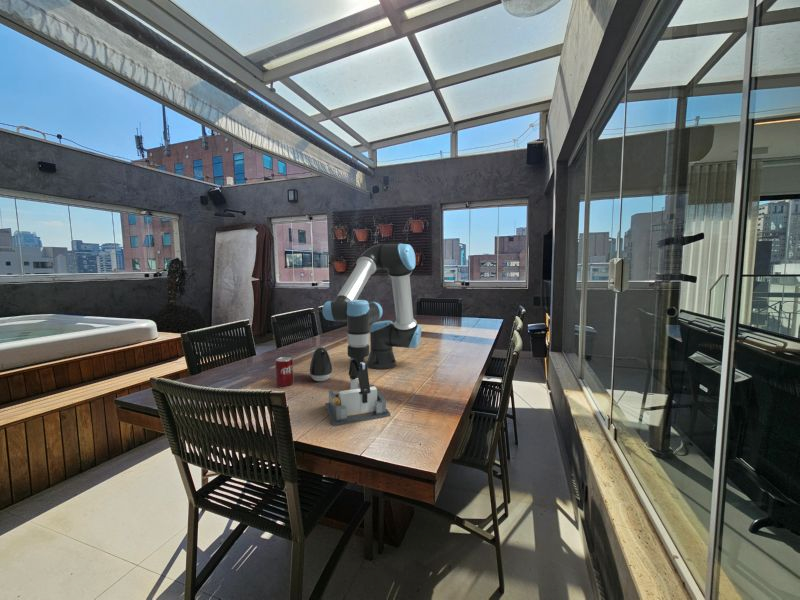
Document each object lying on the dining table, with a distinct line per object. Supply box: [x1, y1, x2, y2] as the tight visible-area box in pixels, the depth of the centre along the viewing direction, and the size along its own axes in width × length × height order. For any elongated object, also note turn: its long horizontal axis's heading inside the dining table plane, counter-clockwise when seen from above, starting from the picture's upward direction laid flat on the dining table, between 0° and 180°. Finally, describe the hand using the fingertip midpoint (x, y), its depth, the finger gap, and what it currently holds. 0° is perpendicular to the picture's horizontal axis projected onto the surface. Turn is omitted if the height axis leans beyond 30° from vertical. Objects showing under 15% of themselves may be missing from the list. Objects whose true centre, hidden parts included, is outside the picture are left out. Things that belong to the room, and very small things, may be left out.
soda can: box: [274, 356, 295, 389], centre depth 147 cm, size 7×7×12 cm
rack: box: [324, 384, 391, 427], centre depth 122 cm, size 20×17×7 cm
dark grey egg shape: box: [309, 346, 333, 382], centre depth 154 cm, size 10×10×15 cm
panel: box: [338, 385, 378, 416], centre depth 119 cm, size 13×3×8 cm, turn 112°
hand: (358, 403), depth 119 cm, fingers open, 13 cm apart
